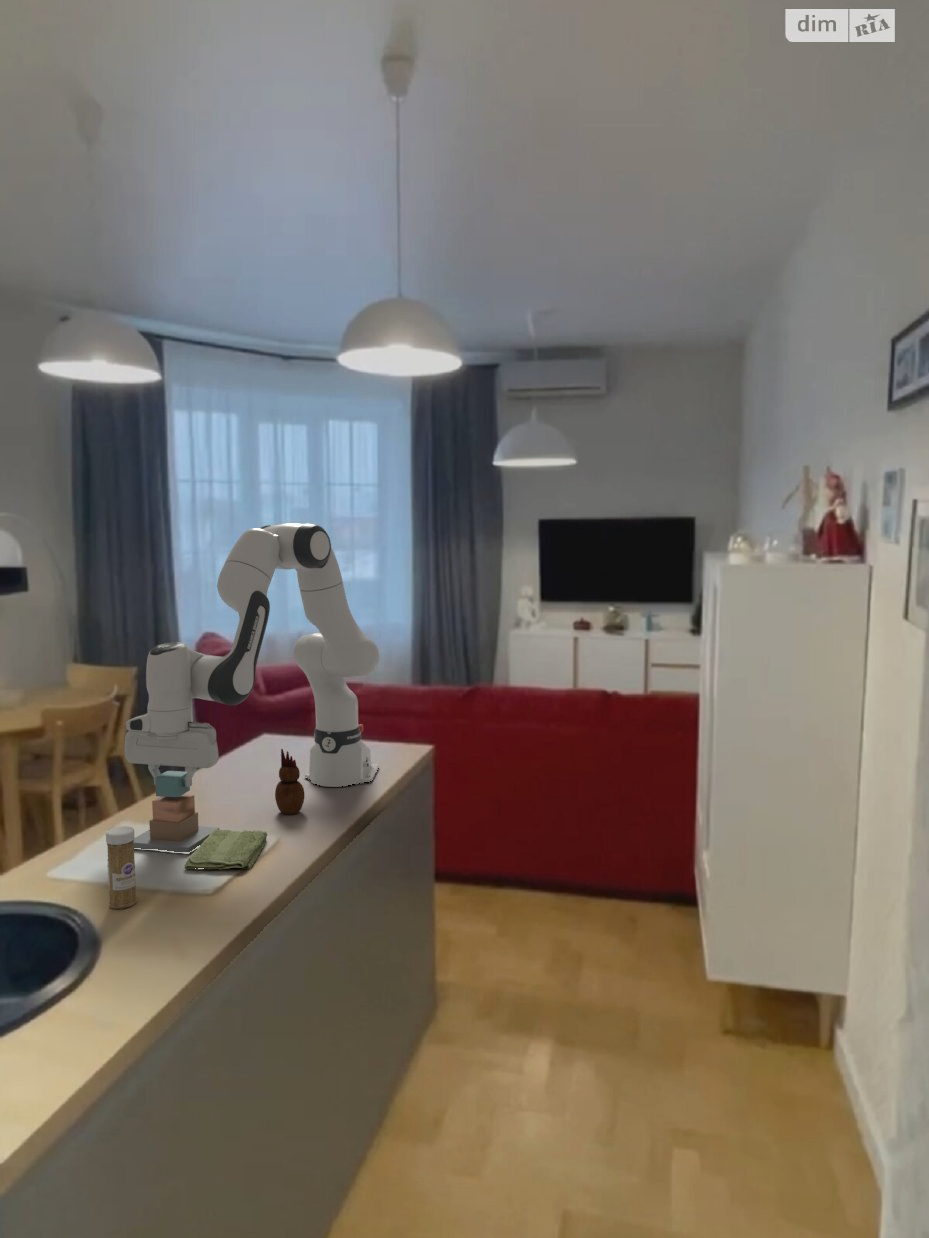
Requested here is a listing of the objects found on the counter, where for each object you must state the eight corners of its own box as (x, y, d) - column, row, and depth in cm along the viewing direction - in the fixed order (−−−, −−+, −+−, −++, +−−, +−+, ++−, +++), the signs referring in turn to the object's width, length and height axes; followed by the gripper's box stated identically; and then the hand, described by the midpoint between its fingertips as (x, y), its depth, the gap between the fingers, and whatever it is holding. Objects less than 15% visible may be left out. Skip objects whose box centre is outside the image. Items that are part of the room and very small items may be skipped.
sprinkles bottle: (123, 911, 142) (120, 835, 141) (103, 907, 144) (99, 832, 142) (142, 900, 146) (139, 827, 145) (122, 896, 148) (119, 823, 147)
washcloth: (181, 874, 159) (181, 858, 159) (211, 841, 177) (211, 826, 176) (249, 874, 159) (248, 858, 158) (272, 841, 176) (272, 826, 176)
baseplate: (162, 829, 182) (161, 804, 182) (219, 834, 179) (218, 809, 179) (128, 848, 171) (127, 823, 170) (188, 854, 168) (187, 828, 167)
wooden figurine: (271, 812, 194) (269, 749, 192) (291, 806, 198) (290, 744, 197) (288, 818, 189) (286, 754, 188) (308, 812, 193) (307, 749, 192)
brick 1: (168, 789, 177) (167, 770, 176) (189, 790, 176) (189, 771, 176) (155, 796, 172) (155, 777, 171) (178, 797, 171) (177, 778, 171)
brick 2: (171, 810, 178) (170, 792, 178) (194, 813, 177) (194, 794, 176) (152, 819, 173) (152, 800, 172) (177, 822, 171) (176, 803, 170)
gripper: (223, 720, 173) (225, 784, 175) (137, 715, 178) (140, 778, 179) (207, 726, 167) (209, 793, 168) (118, 721, 172) (121, 786, 173)
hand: (172, 785), depth 174 cm, fingers closed on brick 1, 5 cm apart
